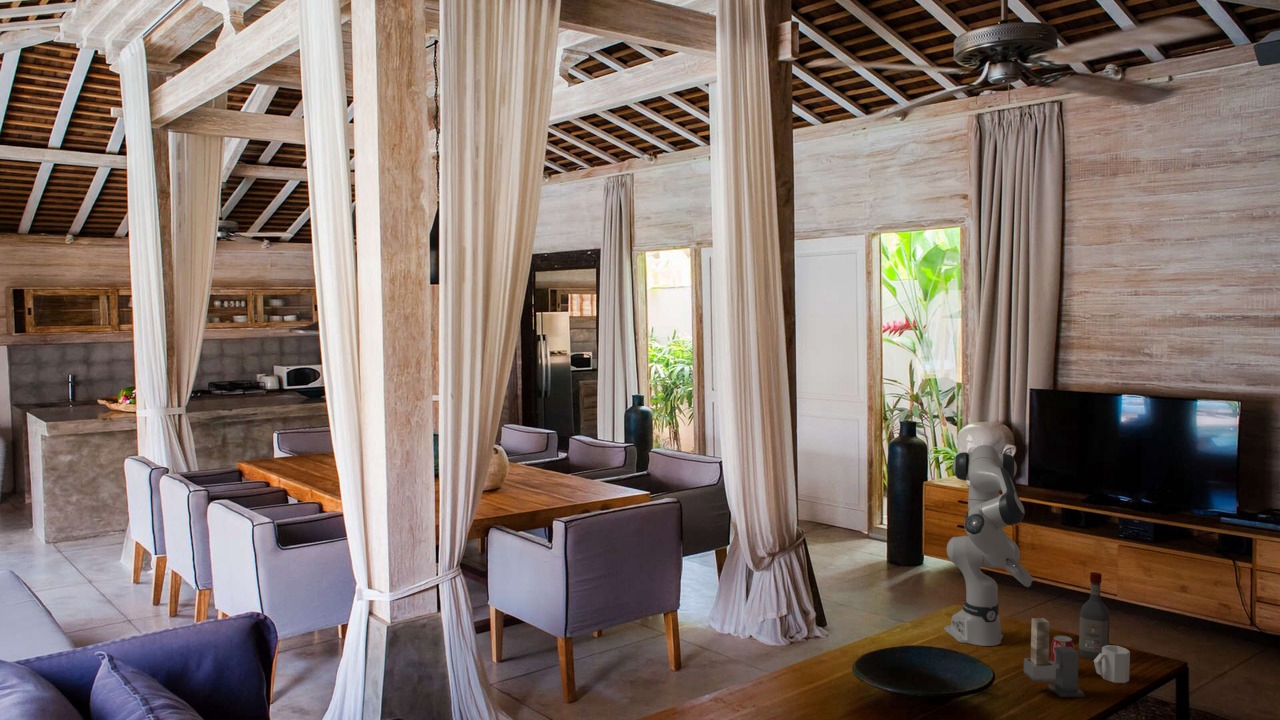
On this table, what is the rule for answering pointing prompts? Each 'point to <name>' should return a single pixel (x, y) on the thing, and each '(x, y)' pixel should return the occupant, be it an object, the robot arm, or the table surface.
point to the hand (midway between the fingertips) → (1020, 577)
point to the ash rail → (1039, 642)
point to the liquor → (1093, 622)
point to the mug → (1113, 664)
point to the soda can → (1060, 644)
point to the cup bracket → (1058, 672)
